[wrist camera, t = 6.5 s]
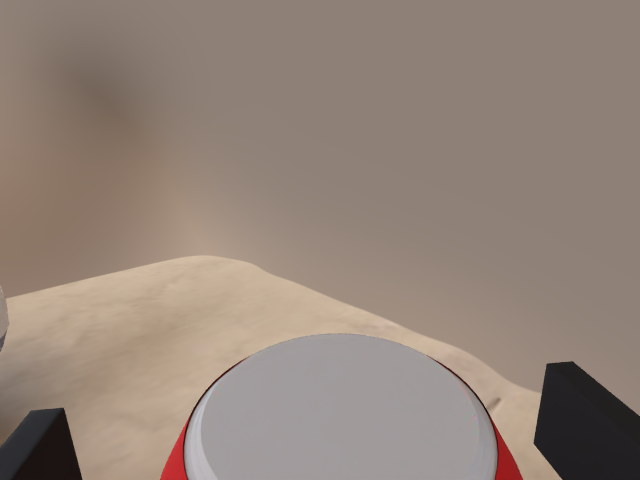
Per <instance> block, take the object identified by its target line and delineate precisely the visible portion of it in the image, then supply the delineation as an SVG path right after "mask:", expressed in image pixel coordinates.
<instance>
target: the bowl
mask: <svg viewBox="0 0 640 480" xmlns="http://www.w3.org/2000/svg"><path fill="white" fill-rule="evenodd" d="M8 325H9V318H8V311H7V304H6V298H5V295H4V292H3V290H2V288H1V286H0V351H1V349H2V347H3V344H4V340H5V336H6V331H7V327H8Z"/></svg>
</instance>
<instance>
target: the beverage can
mask: <svg viewBox="0 0 640 480" xmlns="http://www.w3.org/2000/svg"><path fill="white" fill-rule="evenodd" d="M160 480H523V478H522V476H521V474H520V471H519V469H518V467H517V464H516V462H515V460H514V458H513V456H512V455H511V453H510V451H509V449H508V447H507V446H506V444H505V442H504V440H503V438H502V437H501V435H500V433H499V431H498V429H497V428H496V426H495V424H494V422H493V420H492V419H491V417H490V415H489V413H488V411H487V410H486V408H485V406H484V404H483V403H482V401H481V400H480V399H479V397H478V396H477V394H476V393H475V392H474V391H473V390H472V389H471V388H470V386H469V385H468V384H467V383H466V382H465V381H463V380H462V379H461V378H460V377H459V376H458V375H457V374H455V373H454V372H453V371H452V370H450V369H449V368H447V367H446V366H444V365H443V364H441V363H440V362H438V361H436V360H434V359H433V358H431V357H429V356H427V355H425V354H423V353H421V352H419V351H417V350H415V349H413V348H410V347H408V346H405V345H403V344H400V343H396V342H393V341H390V340H386V339H382V338H377V337H372V336H366V335H357V334H319V335H311V336H305V337H300V338H295V339H291V340H287V341H284V342H281V343H278V344H275V345H272V346H270V347H267V348H265V349H263V350H261V351H259V352H257V353H255V354H253V355H251V356H249V357H247V358H245V359H244V360H242V361H240V362H239V363H237V364H235V365H234V366H232V367H231V368H230V369H228V370H227V371H226V372H224V373H223V374H222V375H221V376H220V377H218V378H217V379H216V380H215V381H214V382H213V383H212V384H211V385H210V386H209V388H208V389H207V390H206V391H205V392H204V394H203V395H202V396H201V398H200V399H199V400H198V402H197V404H196V406H195V407H194V409H193V411H192V413H191V415H190V417H189V419H188V421H187V422H186V424H185V426H184V428H183V430H182V432H181V434H180V436H179V438H178V440H177V442H176V444H175V446H174V448H173V450H172V452H171V454H170V456H169V458H168V461H167V463H166V465H165V467H164V470H163V472H162V475H161V478H160Z"/></svg>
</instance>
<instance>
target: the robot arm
mask: <svg viewBox="0 0 640 480" xmlns="http://www.w3.org/2000/svg"><path fill="white" fill-rule="evenodd" d="M534 445H535V446H536V447H537V448H538V450H539V451H540V452H541V453H542V455H543V456H544V457H545V458H546V460H547V461H548V462H549V463H550V465H551V466H552V467H553V468H554V470H555V471H556V472H557V473H558V475H559V476H560V477H561V478H562V480H640V416H639V415H637V414H636V413H635V412H634V411H633V410H631V409H630V408H629V407H628V406H626V405H625V404H624V403H623V402H621V401H620V400H619V399H618V398H616V397H615V396H614V395H613V394H612V393H611V392H609V391H608V390H607V389H606V388H604V387H603V386H602V385H601V384H599V383H598V382H597V381H596V380H595V379H593V378H592V377H591V376H590V375H588V374H587V373H586V372H585V371H584V370H582V369H581V368H580V367H579V366H577V365H576V364H575V363H574V362H560V363H549V364H547V365H546V372H545V377H544V384H543V390H542V396H541V402H540V408H539V414H538V420H537V426H536V432H535V438H534ZM0 480H82V476H81V472H80V468H79V465H78V461H77V457H76V453H75V449H74V445H73V441H72V437H71V433H70V430H69V426H68V422H67V418H66V414H65V410H64V408H56V409H45V410H34V411H30V412H29V414H28V415H27V416H26V417H25V419H24V420H23V421H22V422H21V423H20V425H19V426H18V427H17V428H16V429H15V431H14V432H13V433H12V434H11V435H10V437H9V438H8V439H7V440H6V441H5V443H4V444H3V445H2V446H1V447H0Z"/></svg>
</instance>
